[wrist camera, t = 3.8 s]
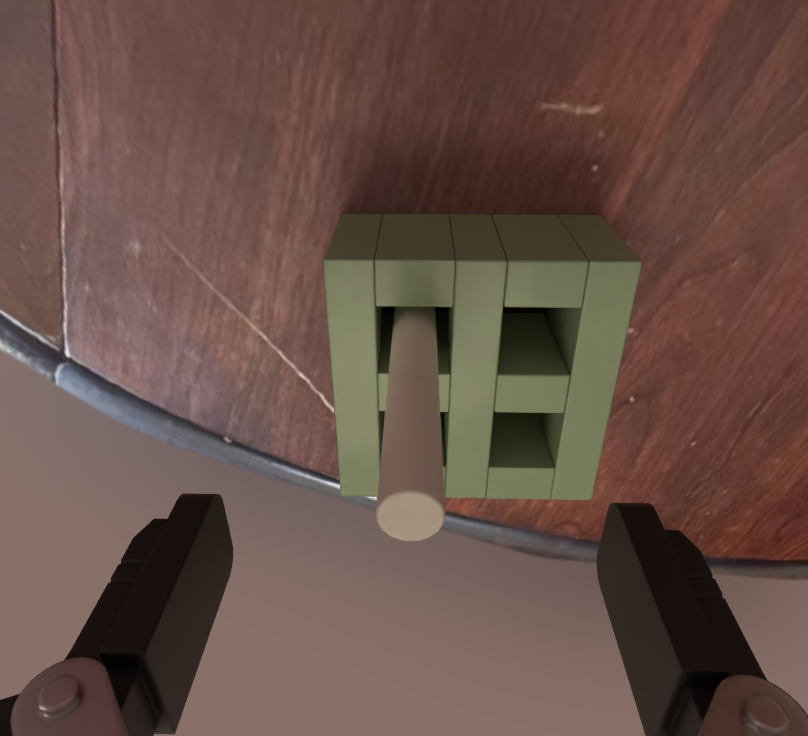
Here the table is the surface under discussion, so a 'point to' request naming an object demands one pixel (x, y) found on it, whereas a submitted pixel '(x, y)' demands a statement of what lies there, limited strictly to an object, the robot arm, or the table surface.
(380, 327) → the pen stand
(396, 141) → the table surface
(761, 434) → the table surface
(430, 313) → the stylus
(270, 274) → the table surface
